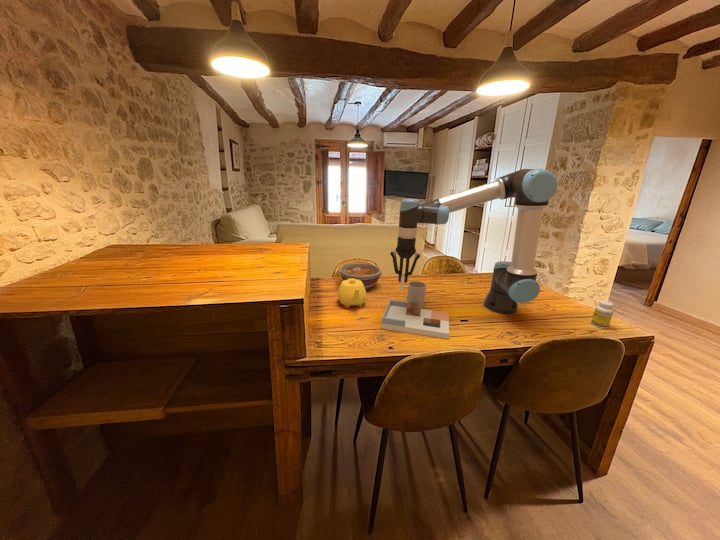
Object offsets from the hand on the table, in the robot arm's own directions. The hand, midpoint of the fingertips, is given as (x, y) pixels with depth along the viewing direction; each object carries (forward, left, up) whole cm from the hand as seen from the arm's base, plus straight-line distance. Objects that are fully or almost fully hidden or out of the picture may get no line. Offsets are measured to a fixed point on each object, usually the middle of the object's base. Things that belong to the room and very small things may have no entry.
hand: (402, 288), depth 133 cm
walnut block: (-6, +1, -10) cm, 12 cm away
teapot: (+24, -4, -13) cm, 27 cm away
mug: (-5, -15, -13) cm, 20 cm away
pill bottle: (-86, -18, -13) cm, 89 cm away
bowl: (+27, -29, -13) cm, 41 cm away
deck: (-7, +5, -13) cm, 16 cm away
